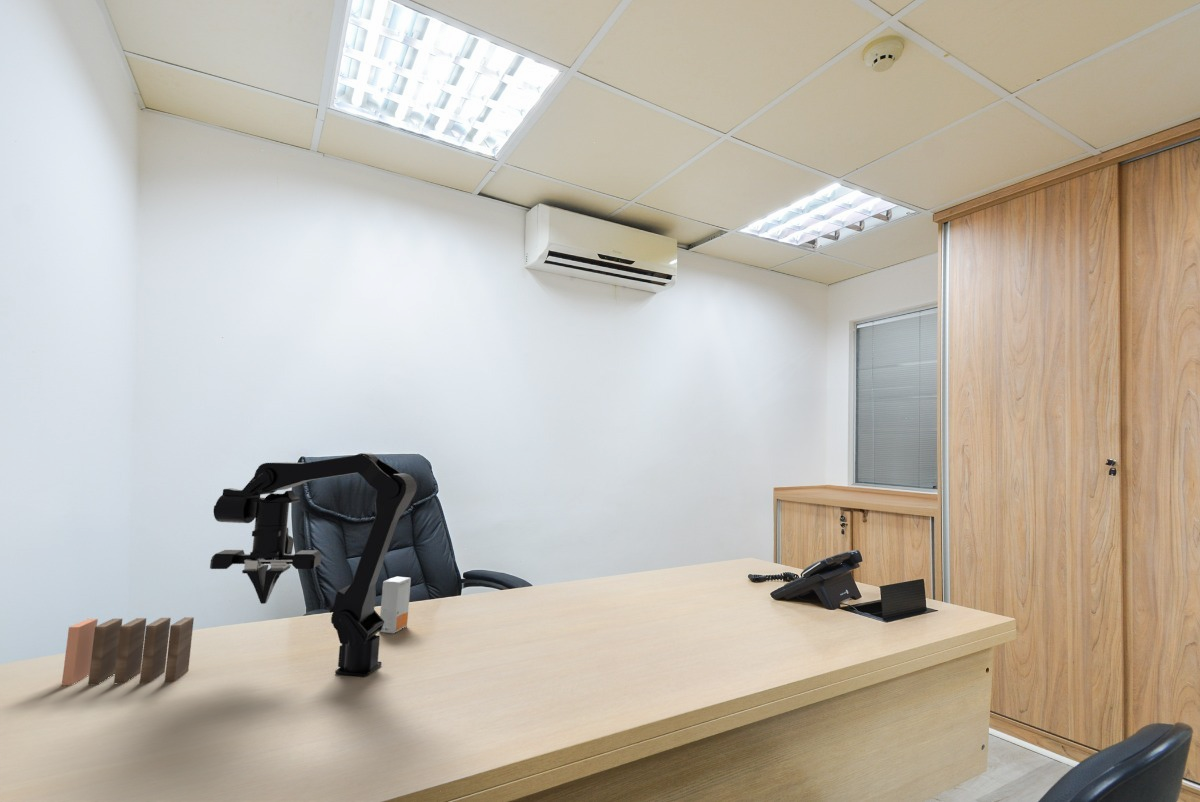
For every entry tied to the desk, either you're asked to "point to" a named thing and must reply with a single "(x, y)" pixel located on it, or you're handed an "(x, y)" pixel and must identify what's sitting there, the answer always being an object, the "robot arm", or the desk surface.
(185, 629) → the domino
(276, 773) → the desk surface
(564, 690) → the desk surface
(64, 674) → the domino
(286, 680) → the desk surface
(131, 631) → the domino
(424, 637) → the desk surface
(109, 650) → the domino
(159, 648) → the domino
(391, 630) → the skincare box
